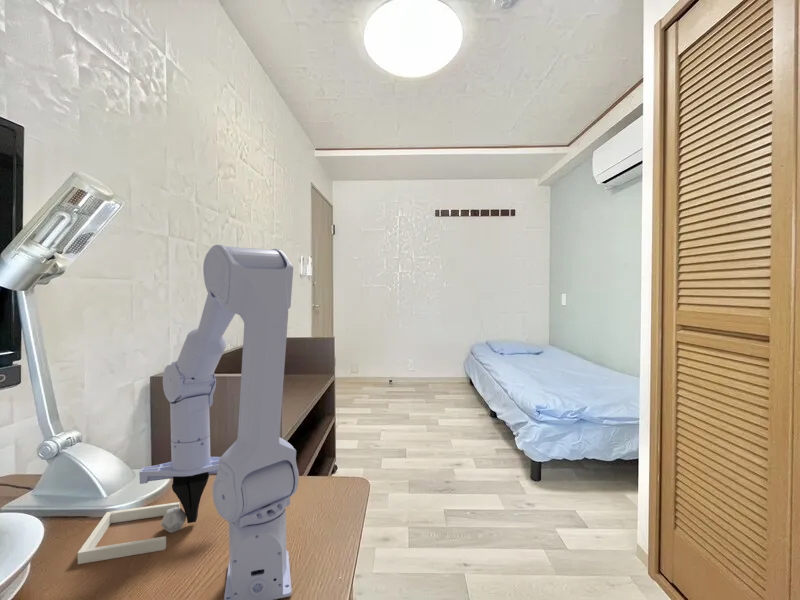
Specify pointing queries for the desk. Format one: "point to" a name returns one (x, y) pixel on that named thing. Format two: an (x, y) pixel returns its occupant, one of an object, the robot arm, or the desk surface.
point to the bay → (129, 548)
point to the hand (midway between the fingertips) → (192, 519)
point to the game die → (173, 519)
